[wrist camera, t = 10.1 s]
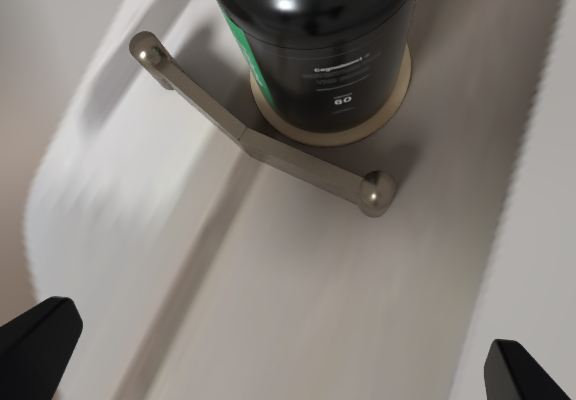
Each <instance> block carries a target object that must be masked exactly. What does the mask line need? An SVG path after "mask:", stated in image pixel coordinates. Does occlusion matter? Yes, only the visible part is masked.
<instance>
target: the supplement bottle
mask: <svg viewBox="0 0 576 400" xmlns="http://www.w3.org/2000/svg"><path fill="white" fill-rule="evenodd" d="M217 2H218V4H219V7H220V9H221V11H222V13H223V15H224V17H225V19H226V21H227V23H228V25H229V27H230V29H231V31H232V33H233V35H234V37H235V39H236V41H237V44H238V46H239V48H240V50H241V52H242V54H243V56H244V58H245V60H246V62H247V64H248V66H249V68H250V70H251V72H252V74H253V76H254V78H255V80H256V83H257V85H258V87H259V89H260V91H261V93H262V94H263V96H264V98H265V100H266V102H267V103H268V105H269V106H270V107H271V109H272V110H273V111H274V112H275V113H276V114H277V115H278V116H279V117H280V118H281V119H282V120H284V121H285V122H287V123H288V124H290V125H292V126H294V127H296V128H298V129H301V130H304V131H307V132H312V133H320V134H330V133H338V132H343V131H346V130H350V129H352V128H355V127H357V126H359V125H361V124H363V123H364V122H366V121H368V120H369V119H370V118H372V117H373V116H374V115H375V114H376V113H377V112H379V111H380V110H381V108H382V107H383V106H384V105H385V104H386V102H387V101H388V99H389V98H390V96H391V94H392V92H393V90H394V88H395V85H396V82H397V79H398V76H399V72H400V68H401V64H402V60H403V55H404V51H405V47H406V43H407V38H408V34H409V30H410V25H411V21H412V17H413V12H414V8H415V4H416V0H217Z"/></svg>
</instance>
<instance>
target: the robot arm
mask: <svg viewBox="0 0 576 400" xmlns="http://www.w3.org/2000/svg"><path fill="white" fill-rule="evenodd" d="M82 329H83V321H82V319H81V317H80V315H79V312H78V310H77V308H76V306H75V304H74V302H73V300H72V299H70V298H68V297H59V296H53V297H50V298H48V299H46V300H44V301H43V302H41V303H39V304H38V305H36V306H34V307H33V308H31V309H30V310H28V311H26V312H24V313H23V314H21V315H20V316H18V317H16V318H14V319H13V320H11V321H10V322H8V323H6V324H4V325H3V326H1V327H0V400H52V398H53V396H54V394H55V391H56V389H57V387H58V385H59V383H60V381H61V378H62V376H63V374H64V371H65V369H66V367H67V365H68V362H69V360H70V358H71V355H72V353H73V351H74V349H75V346H76V344H77V342H78V339H79V337H80V335H81V332H82ZM484 380H485V387H486V394H487V400H571V399H570V398H569V397H568V396H567V395H566V393H565V392H564V391H563V390H562V389H561V388H560V387H559V386H558V385H557V384H556V383H555V381H554V380H553V379H552V378H551V377H550V376H549V375H548V374H547V373H546V371H545V370H544V369H543V368H542V367H541V366H540V365H539V364H538V363H537V362H536V360H535V359H534V358H533V357H532V356H531V355H530V354H529V353H528V352H527V350H526V349H525V348H524V347H523V346H522V345H521V344H520V343H518V342H517V341H513V340H503V339H495V340H494V341H493V342H492V344H491V347H490V350H489V353H488V356H487V359H486V362H485V365H484Z"/></svg>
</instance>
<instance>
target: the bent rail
mask: <svg viewBox="0 0 576 400" xmlns="http://www.w3.org/2000/svg"><path fill="white" fill-rule="evenodd" d="M129 50H130V53H131V54H132V55H133V57H134V58H135V59H136V60H137V61H138V62H139V63H140V64H141V65H142V66H143V67H144V68H145V69H146V70H147V71H148V72H149V73H150V74H151V75H152V76H153V77H154V78H155V79H156V80H157V81H158V82H159V83H160V84H161V85H162V86H163V87H164V88H165V89H167V90H175V91H176V92H178V93H179V94H180V95H181V96H182V97H183V98H184V99H186V100H187V101H188V102H189V103H190V104H191V105H193V106H194V107H195V108H196V109H197V110H198V111H199V112H201V113H202V114H203V115H204V116H205V117H206V118H207V119H209V120H210V121H211V122H212V123H213V124H214V125H215V126H217V127H218V128H219V129H220V130H221V131H222V132H223V133H225V134H226V135H227V136H228V137H229V138H230V139H232V140H233V141H234V142H235V143H236V144H237V145H238V146H240V147H241V148H242V149H243V150H244V151H245V152H246V153H248V154H249V155H250V156H251V157H253V158H255V159H257V160H259V161H262V162H264V163H266V164H268V165H271V166H273V167H275V168H277V169H279V170H282V171H284V172H286V173H288V174H290V175H293V176H295V177H297V178H299V179H302V180H304V181H306V182H308V183H310V184H313V185H315V186H317V187H319V188H322V189H324V190H326V191H328V192H330V193H333V194H335V195H337V196H339V197H342V198H344V199H346V200H348V201H350V202H353V203H355V204H357V205H359V208H360V210H361V211H362V212H363V213H364V214H365V215H367V216H369V217H379V216H381V215H383V214H384V213H385V212H386V211H387V209H388V207H389V205H390V203H391V201H392V199H393V198H394V196H395V193H396V183H395V180H394V179H393V177H392V176H391V175H390V174H388V173H386V172H384V171H372V172H370V173H368V174H367V175H366V176H365V177H364V178H362V177H360V176H358V175H355V174H353V173H351V172H349V171H346V170H344V169H342V168H339V167H337V166H335V165H332V164H330V163H328V162H325V161H323V160H321V159H319V158H316V157H314V156H312V155H309V154H307V153H305V152H302V151H300V150H298V149H296V148H293V147H291V146H289V145H286V144H284V143H282V142H279V141H277V140H275V139H272V138H270V137H268V136H266V135H263V134H261V133H259V132H256V131H254V130H252V129H249V128H247V127H246V126H245V125H244V124H243V123H241V122H240V121H239V120H238V119H237V118H235V117H234V116H233V115H232V114H231V113H230V112H228V111H227V110H226V109H225V108H224V107H223V106H221V105H220V104H219V103H218V102H217V101H216V100H214V99H213V98H212V97H211V96H210V95H208V94H207V93H206V92H205V91H204V90H203V89H201V88H200V87H199V86H198V85H197V84H196V83H194V82H193V81H192V80H191V79H190V78H188V77H187V76H186V75H185V74H184V71H183V70H182V69H181V67H180V66H179V65H178V64H177V62H176V61H175V60H174V59H173V57H172V56H171V55H170V54H169V52H168V51H167V50H166V49H165V47H164V46H163V45H162V44H161V42H160V41H159V40H158V39H157V37H156V36H155V35H154V34H153V33H151V32H148V31H143V32H140V33H138V34H136V35H135V36H134V37H133V38H132V40H131V41H130V45H129Z"/></svg>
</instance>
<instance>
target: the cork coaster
mask: <svg viewBox="0 0 576 400" xmlns="http://www.w3.org/2000/svg"><path fill="white" fill-rule="evenodd" d="M410 72H411V58H410V53H409V48H408V45H407V43H406V47H405V51H404V55H403V60H402V64H401V68H400V72H399V76H398V79H397V82H396V85H395V88H394V90H393V92H392V94H391V96H390V98H389V99H388V101H387V102H386V104H385V105H384V106H383V107H382V108H381V110H380V111H379V112H377V113H376V114H375V115H374V116H373V117H372V118H370V119H369V120H368V121H366V122H364V123H363V124H361V125H359V126H357V127H355V128H352V129H350V130H346V131H343V132H338V133H330V134H320V133H312V132H307V131H304V130H301V129H298V128H296V127H294V126H292V125H290V124H288V123H287V122H285V121H284V120H282V119H281V118H280V117H279V116H278V115H277V114H276V113H275V112H274V111H273V110H272V109H271V107H270V106H269V105H268V103H267V102H266V100H265V98H264V96H263V94H262V93H261V91H260V89H259V87H258V85H257V83H256V80H255V78H254V76H253V74H252V72H251V70H250V82H251V89H252V93H253V96H254V99H255V101H256V104H257V106H258V108H259V109H260V111H261V113H262V114H263V116H264V117H265V119H266V120H267V121H268V122H269V124H271V125H272V126H273V127H274V128H275V129H276V130H277V131H278V132H280V133H281V134H283V135H284V136H286V137H288V138H290V139H292V140H294V141H296V142H299V143H302V144H306V145H310V146H317V147H336V146H342V145H347V144H350V143H354V142H357V141H359V140H361V139H364V138H366V137H368V136H369V135H371V134H373V133H374V132H376V131H377V130H378V129H380V128H381V127H382V126H384V125H385V124H386V123H387V122H388V121H389V120H390V119H391V117H392V116H393V115H394V114H395V112H396V111H397V110H398V108H399V106H400V104H401V103H402V101H403V99H404V96H405V94H406V91H407V88H408V84H409V80H410Z"/></svg>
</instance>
